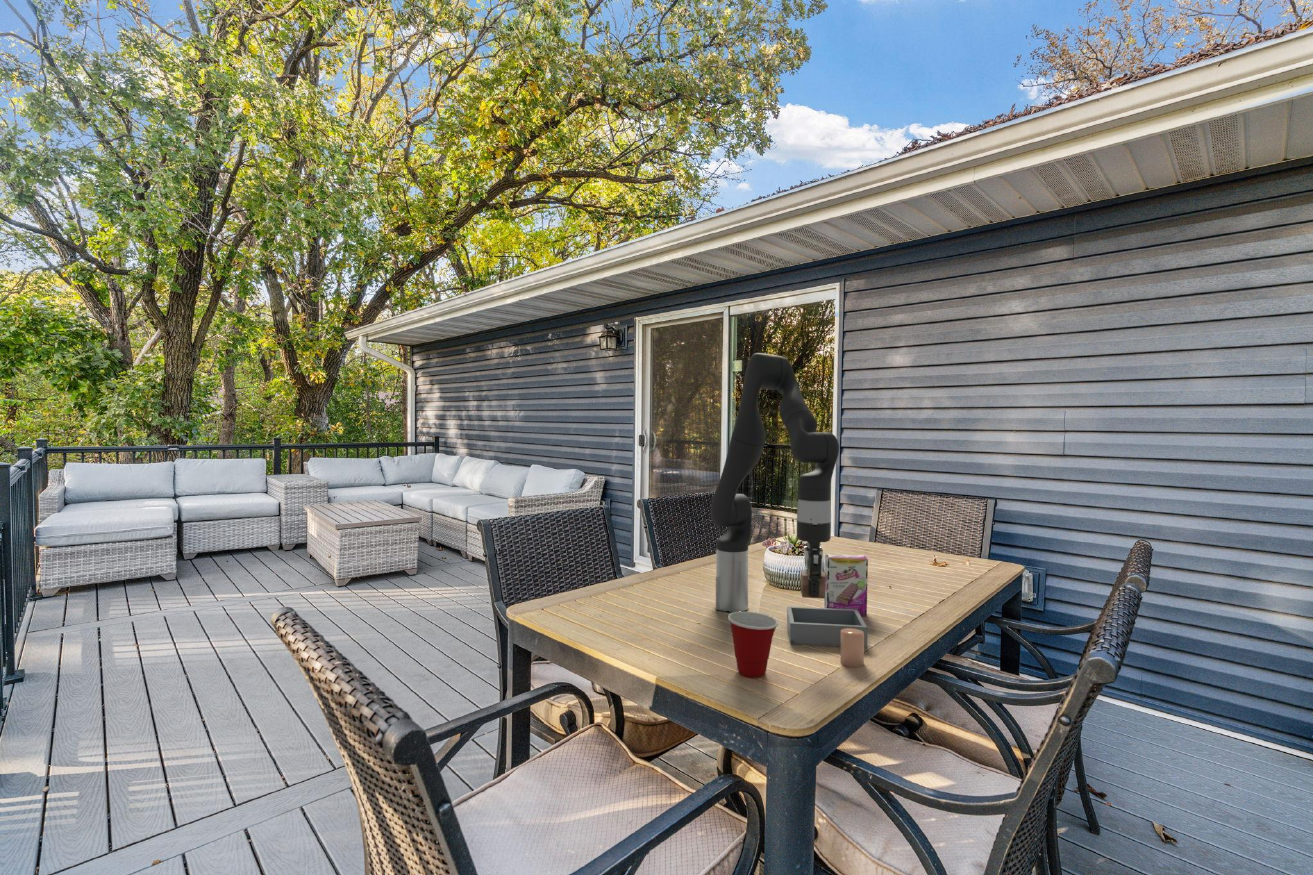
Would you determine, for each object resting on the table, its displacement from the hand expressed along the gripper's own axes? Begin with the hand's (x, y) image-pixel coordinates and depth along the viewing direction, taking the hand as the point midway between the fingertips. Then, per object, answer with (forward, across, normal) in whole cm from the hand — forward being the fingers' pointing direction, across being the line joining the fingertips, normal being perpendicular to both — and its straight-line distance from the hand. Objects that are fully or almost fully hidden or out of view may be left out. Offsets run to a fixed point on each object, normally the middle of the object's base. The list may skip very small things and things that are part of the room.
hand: (812, 592), depth 138 cm
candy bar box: (+15, -35, +12) cm, 40 cm away
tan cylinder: (+15, +2, +9) cm, 17 cm away
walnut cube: (0, 0, 0) cm, 0 cm away
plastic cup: (+15, +12, -13) cm, 23 cm away
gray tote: (+15, -15, +4) cm, 21 cm away
